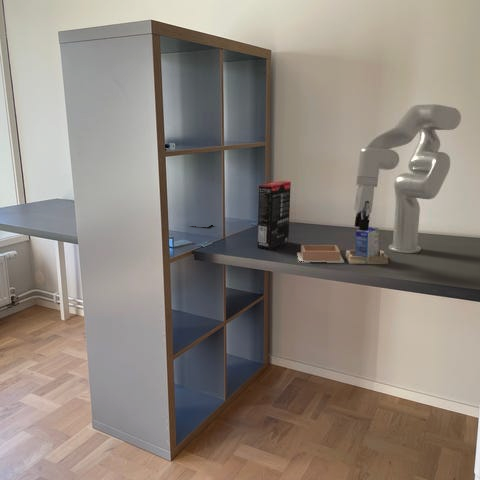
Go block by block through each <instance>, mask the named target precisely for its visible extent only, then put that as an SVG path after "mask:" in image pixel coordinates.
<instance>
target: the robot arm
mask: <svg viewBox="0 0 480 480" xmlns="http://www.w3.org/2000/svg"><path fill="white" fill-rule="evenodd" d="M461 119H462V116H461V112H460V110H458V109H457V108H456V107H451V106H447V105H442V104H436V103H435V104H416V105H413V106H411V107H410V108H409V109H408V110H407V111H406V112H405V114H403V116H402V117H401V118H400V120H399V121H398V122H397V123H396V125H395V126H394V127H392V128H391V129H388V130H386V131H385V132H383V133H381V134H379V135H377V136H376V137H374V138H372V139H371V141H370V142H369V143H368V144H367V145H366V146H365V147H363V148H361V149H360V151H359V157H358V167H357V177H356V184H355V185H356V186H357V189H356V194H355V201H354V204H353V205H354V207H353V209H354V211H355V213H356V215H355V220H354V227H356V228H358V230H362V231H368V227H370V226H369V225H370V215H371V213H372V210H373V203H374V194H375V188H377V187H378V182H379V181H378V180H379V174H380V170H385V171H386V170H387V171H390V170H393V169H396V167H397V166H398V165H399V163H400V156H399V154H398V152H396V151H395V150H393V149H394V148H398V147H402V146H405V145H407V144H408V145H409V144H410V143H411V142H413V140H414V138H415V137H416V136H417V135H418V134H419V140H418V143H417V146H415V147H416V148H414V151H413V153H412V155H411V157H410V159H409V162H408V166H407V167H408V170H409V172H404V173H400V174H399V175H398V176H397V177H396V178H395V180H394V184H393V187H394V196H395V197H394V198H395V207H394V208H395V210H394V211H395V212H394V221H393V222H394V223H393V237H392V238H393V239H392V243H390V244H389V245H388V250H390V251H392V252H396V253H400V254H401V253H402V254H415V253H416V254H417V253H419V252H421V249H422V247H420V246H419V245H418V238H419V237H418V236H419V225H420V224H419V223H420V212H421V206H420V203H419V200H418V199H422V200H432V199H434V198H436V196H438V194H439V192H440V190H441V188H442V186H443V184H444V182H445V179H446V177H447V176H448V174H449V172H450V167H451V157H450V156H449V154H448V153H446V152H442V151H439V150H440V148H441V139H440V137H439V136H438V134H437V132H436V131H453V130H455V129H457V128H458V127H459V126H460V123H461Z"/></svg>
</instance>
